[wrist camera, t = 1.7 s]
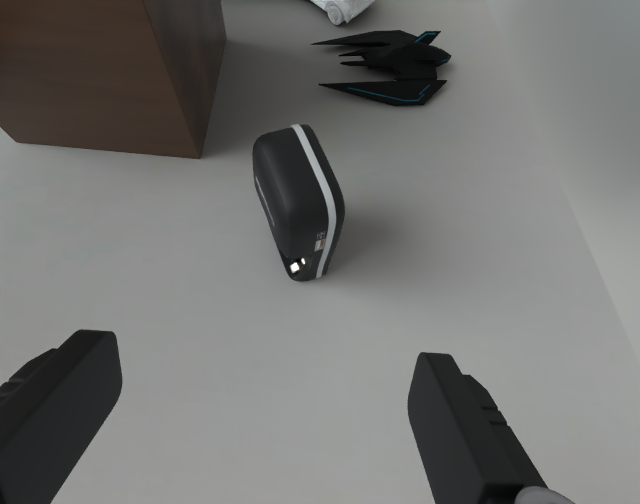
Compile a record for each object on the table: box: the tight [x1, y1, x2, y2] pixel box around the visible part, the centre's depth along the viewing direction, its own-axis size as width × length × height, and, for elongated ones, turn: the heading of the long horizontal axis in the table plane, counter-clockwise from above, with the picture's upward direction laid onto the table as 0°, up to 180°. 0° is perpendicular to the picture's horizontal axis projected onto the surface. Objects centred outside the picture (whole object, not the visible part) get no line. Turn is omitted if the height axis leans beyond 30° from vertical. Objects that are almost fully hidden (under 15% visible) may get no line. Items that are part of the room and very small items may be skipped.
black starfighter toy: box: [311, 30, 451, 106], centre depth 37 cm, size 11×15×3 cm
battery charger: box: [252, 124, 345, 281], centre depth 24 cm, size 7×4×11 cm, turn 21°
